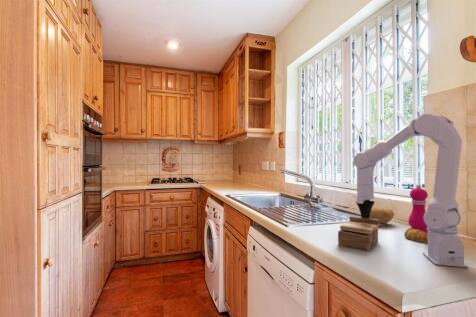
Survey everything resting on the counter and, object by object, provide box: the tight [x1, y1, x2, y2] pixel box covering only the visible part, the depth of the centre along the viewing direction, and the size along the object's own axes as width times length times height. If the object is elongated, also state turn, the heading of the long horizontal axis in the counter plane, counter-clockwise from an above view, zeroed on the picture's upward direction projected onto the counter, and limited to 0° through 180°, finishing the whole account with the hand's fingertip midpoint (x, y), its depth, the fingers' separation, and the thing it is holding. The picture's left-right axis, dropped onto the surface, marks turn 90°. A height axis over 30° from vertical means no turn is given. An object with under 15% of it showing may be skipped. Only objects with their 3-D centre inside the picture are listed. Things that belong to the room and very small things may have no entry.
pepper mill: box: [408, 183, 429, 233], centre depth 107 cm, size 7×7×20 cm
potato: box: [369, 206, 395, 226], centre depth 122 cm, size 10×14×8 cm
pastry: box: [403, 227, 428, 244], centre depth 99 cm, size 9×7×4 cm
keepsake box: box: [337, 228, 379, 253], centre depth 94 cm, size 12×10×5 cm
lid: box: [339, 215, 380, 234], centre depth 96 cm, size 12×10×3 cm
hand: (365, 219), depth 101 cm, fingers closed
